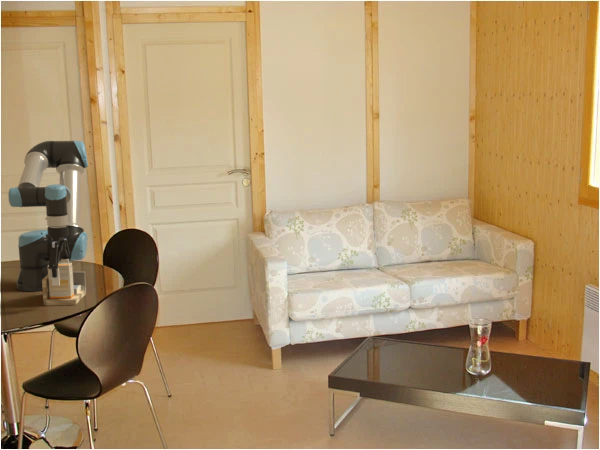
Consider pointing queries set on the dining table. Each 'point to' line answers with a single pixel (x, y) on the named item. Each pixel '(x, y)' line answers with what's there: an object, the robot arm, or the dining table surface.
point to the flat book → (77, 288)
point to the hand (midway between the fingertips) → (61, 280)
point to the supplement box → (62, 282)
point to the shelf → (77, 280)
